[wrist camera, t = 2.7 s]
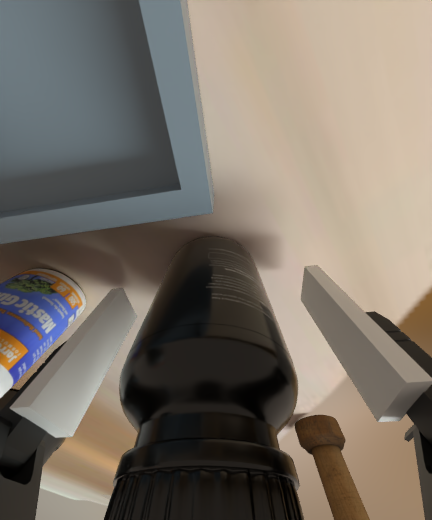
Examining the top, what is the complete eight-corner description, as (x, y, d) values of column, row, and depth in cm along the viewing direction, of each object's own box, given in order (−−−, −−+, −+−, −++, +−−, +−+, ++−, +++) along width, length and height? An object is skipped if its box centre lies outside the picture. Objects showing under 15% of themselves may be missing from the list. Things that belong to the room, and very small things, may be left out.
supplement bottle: (153, 261, 13) (-82, 609, 3) (228, 215, 12) (339, 675, 1) (202, 315, 16) (174, 591, 6) (268, 285, 14) (408, 602, 4)
